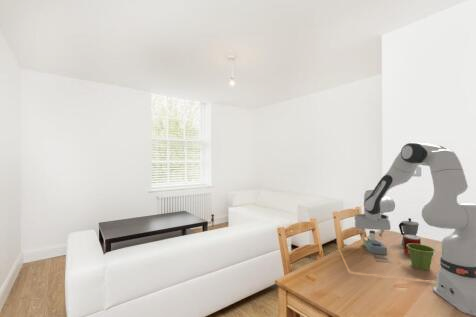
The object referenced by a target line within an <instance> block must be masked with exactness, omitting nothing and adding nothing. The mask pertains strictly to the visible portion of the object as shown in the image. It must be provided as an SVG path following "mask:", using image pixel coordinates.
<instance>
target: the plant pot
mask: <svg viewBox="0 0 476 317" xmlns="http://www.w3.org/2000/svg"><path fill="white" fill-rule="evenodd" d="M407 247H408V250H409V253H410V255H409V258H410V262H411V266H412V267H414V268H416V269H418V270H421V271H429V270H431V269H430V268H431V265H432V259H433V256H434V253H435V252H436V249H435V248H434V247H431V246H428V245H426V244H414V243H410V244H407Z"/></svg>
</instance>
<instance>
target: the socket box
mask: <svg viewBox="0 0 476 317" xmlns="http://www.w3.org/2000/svg"><path fill="white" fill-rule="evenodd" d="M362 245H363V246H364V247H365V248H366V249H367V251H368V252H369V253H370V254H374V255H388V248H387V246H386V245H385V244H384V243H383V242H382V241H381V240H380V239H379V238H376V242H372V241H369V237H362Z"/></svg>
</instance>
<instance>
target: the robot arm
mask: <svg viewBox="0 0 476 317" xmlns="http://www.w3.org/2000/svg"><path fill="white" fill-rule="evenodd" d="M392 162H393V163H392V164H391V166H390V168H389V169H388V170H387V172H386V173H385V174H384V175H383V176H382V177H381V178H380V179H379V181H378V183H377V184H376V186H375V187H374V189H369V190H365V192H364V194H363V195H364V196H363V208H364V209H363V213H357V214H355V215H354V227H355V228H356V229H360V230H361V232H362V236H367V233H366V232H365V230H380V232H379V233H378V236H379V237H383V234H384V232H385V231H390V230H391V221H390V220H389V215H387V213H391V212H393V211H394V210H395V209H396V203H395V201H394V199H393V198H392V197H390V196H387V193H388V191H389V190H390V189H392V188H395V187H396V186H400V185H403V184H405V183H407V182H409V181H410V179H412V177H413V176H414V173H415V172H416V170H417V168H418V167H419V165H421V166H425V167H429V170H430V174H431V178H432V184H433V195H432V198H431V200H429V201H428V202H427V204H425V205H424V206H423V208H422V210H421V218H422V219H423V221H424V222H425V224H427V225H428V226H430V227H434V228H438V229H446V230H449V229H450V230H453V232H452V233H451V234H449V235H447V236H445V237H444V238H443V239H442V240H441V256H440V260H439V262H440V264H439V265H440V269H439V270H438V271H437V274H436V281H435V282H436V284H435V286H434V287H432V292H434V293H436V294H437V295H438V296H439V297H440V298H442V299H444V300H445V301H446V302H447V303H449V304H450V305H451V306H453V307H454V308H455V309H457V310H458V311H460V312H462V313H464V314H467V315H469V316H474V317H476V203H471V202H470V203H467V202H466V203H464V202H463V203H462V202H459V203H458V196H460V195H462V194H463V193H466V191H467V190H468V187H469V186H468V182H467V179H466V175H465V172H464V169H463V166H462V164H461V161H460V159H459V157H458V156H457V153H455V152H454V151H453V150H451V149H450V150H449V149H448V148H446V147H444V146H441V145H435V144H431V143H424V142H423V143H422V142H420V143H419V142H409V143H406V144H404V145H403V146H402V148H401V150H400V152H399V153H398V155H396V157H395V159H393V161H392Z"/></svg>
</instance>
